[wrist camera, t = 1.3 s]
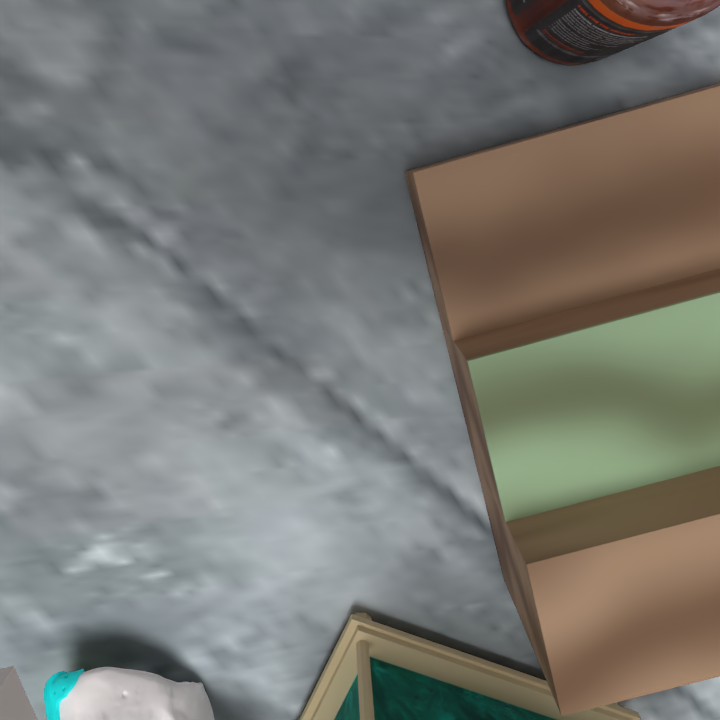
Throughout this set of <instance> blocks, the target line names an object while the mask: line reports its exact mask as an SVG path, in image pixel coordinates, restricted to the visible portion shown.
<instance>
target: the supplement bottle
mask: <svg viewBox="0 0 720 720" xmlns="http://www.w3.org/2000/svg"><path fill="white" fill-rule="evenodd" d="M506 2H507V7H508V12H509V15H510V18H511V20H512V23H513V25H514V27H515V29H516V31H517V33H518V35H519V36H520V37H521V39H522V40H523V42H524V43H525V44H526V45H527V46H528V47H529V48H530V49H532V50H533V51H534V52H535V53H537V54H539V55H540V56H542V57H544V58H546V59H548V60H551V61H553V62H557V63H561V64H567V65H578V64H586V63H589V62H594V61H598V60H601V59H603V58H606V57H608V56H610V55H613V54H615V53H618V52H620V51H622V50H625V49H627V48H629V47H632V46H634V45H636V44H638V43H641V42H644V41H647V40H649V39H651V38H654V37H655V36H658V35H660V34H663V33H665V32H667V31H670V30H672V29H674V28H676V27H679V26H681V25H683V24H685V23H688V22H690V21H692V20H694V19H697V18H699V17H701V16H703V15H705V14H707V13H709V12H710V11H712V10H714V9H715V8H717V7H718V6H719V5H720V0H506Z"/></svg>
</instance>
